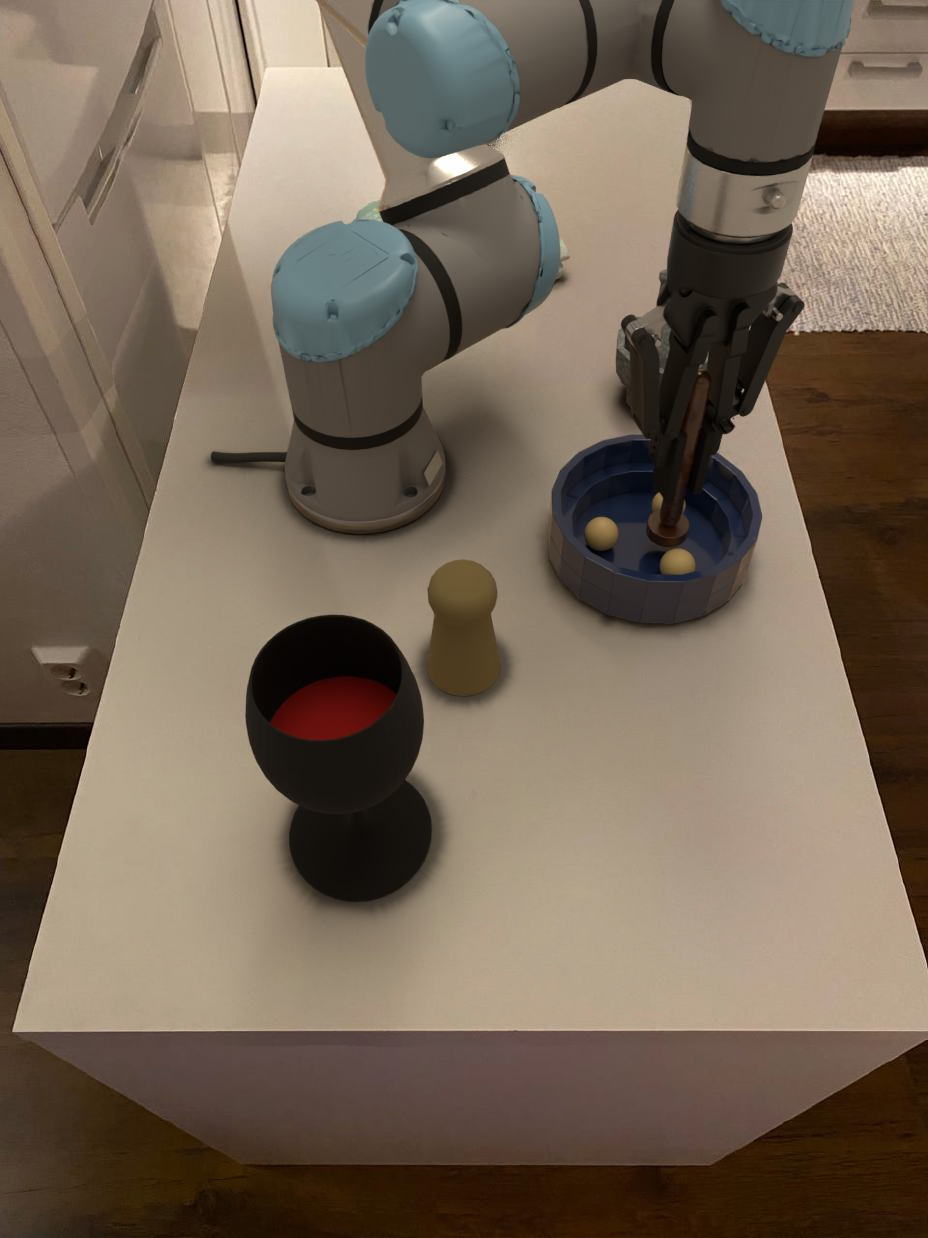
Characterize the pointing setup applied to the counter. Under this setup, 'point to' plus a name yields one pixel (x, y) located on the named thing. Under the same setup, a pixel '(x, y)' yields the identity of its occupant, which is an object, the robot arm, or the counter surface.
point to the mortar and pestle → (624, 350)
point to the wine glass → (342, 752)
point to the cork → (463, 628)
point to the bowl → (630, 570)
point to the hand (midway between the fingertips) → (676, 486)
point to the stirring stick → (681, 472)
